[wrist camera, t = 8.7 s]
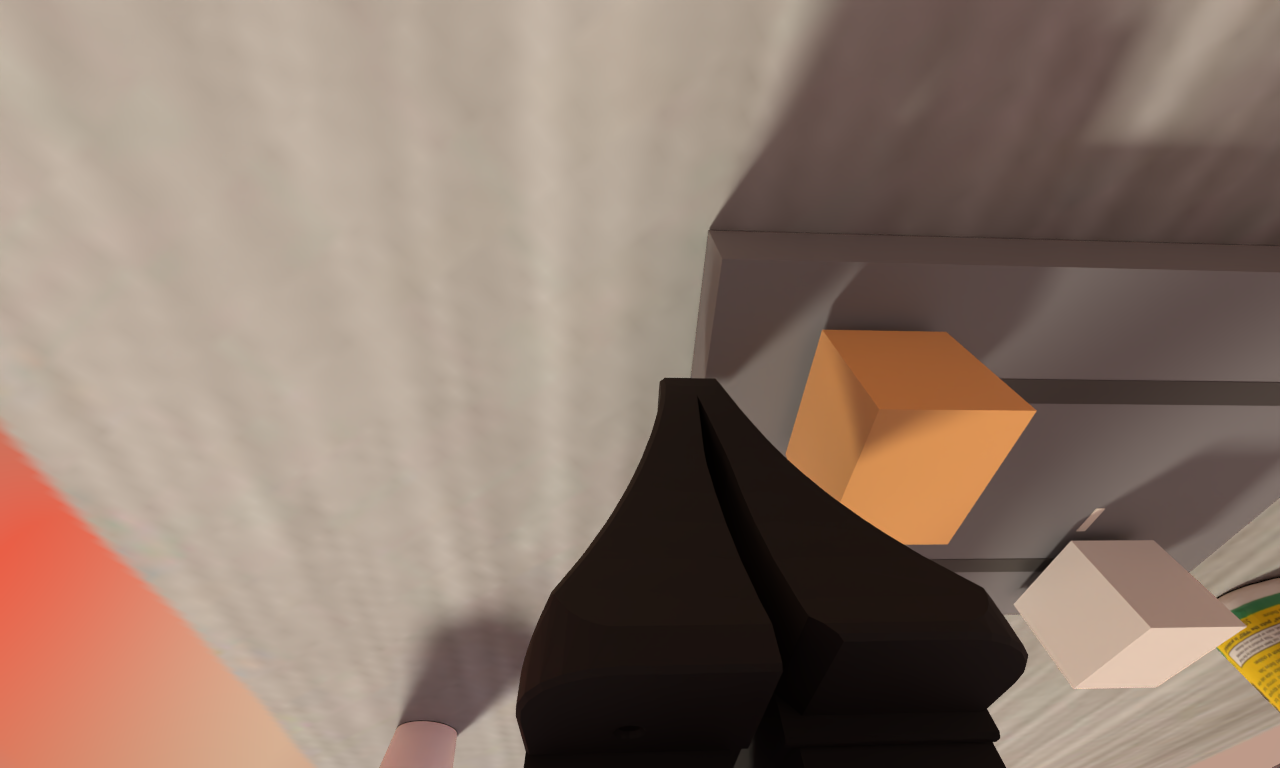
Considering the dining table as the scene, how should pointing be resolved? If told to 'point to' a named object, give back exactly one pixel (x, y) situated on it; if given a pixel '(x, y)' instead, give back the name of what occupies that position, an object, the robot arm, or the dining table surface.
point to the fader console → (1037, 374)
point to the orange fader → (904, 429)
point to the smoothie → (421, 746)
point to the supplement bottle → (1256, 636)
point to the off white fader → (1123, 614)
